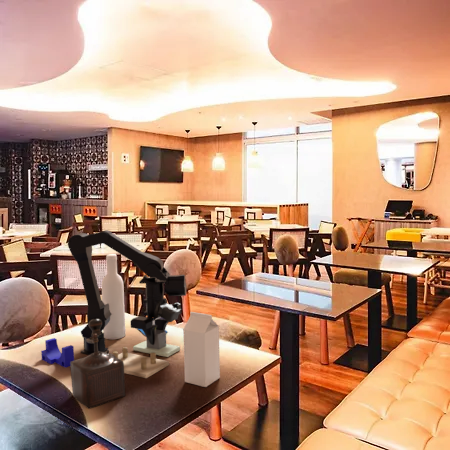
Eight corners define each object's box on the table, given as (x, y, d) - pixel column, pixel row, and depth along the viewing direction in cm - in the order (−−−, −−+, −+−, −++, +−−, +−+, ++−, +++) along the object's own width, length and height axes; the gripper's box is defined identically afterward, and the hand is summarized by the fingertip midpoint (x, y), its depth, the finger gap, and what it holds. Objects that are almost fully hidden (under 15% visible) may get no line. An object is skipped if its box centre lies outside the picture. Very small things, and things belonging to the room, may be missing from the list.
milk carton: (205, 388, 121) (204, 318, 120) (184, 382, 125) (182, 315, 123) (220, 378, 127) (218, 312, 126) (199, 373, 131) (197, 308, 129)
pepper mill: (128, 395, 118) (126, 327, 116) (88, 409, 111) (84, 337, 109) (101, 377, 129) (99, 315, 128) (63, 389, 122) (60, 323, 121)
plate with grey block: (167, 357, 144) (167, 337, 143) (133, 350, 150) (132, 331, 150) (180, 349, 150) (179, 331, 149) (146, 343, 156) (146, 325, 156)
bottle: (116, 340, 160) (112, 256, 158) (98, 338, 164) (95, 255, 161) (130, 334, 167) (127, 253, 165) (113, 331, 171) (110, 252, 168)
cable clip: (41, 360, 144) (40, 341, 143) (55, 356, 147) (54, 338, 147) (60, 369, 136) (59, 350, 135) (74, 365, 139) (73, 346, 139)
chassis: (99, 367, 137) (98, 354, 137) (124, 354, 146) (123, 342, 146) (146, 378, 128) (145, 364, 128) (169, 364, 138) (168, 351, 137)
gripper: (157, 305, 136) (158, 355, 138) (191, 292, 153) (192, 337, 154) (128, 301, 142) (130, 350, 143) (164, 289, 158) (165, 333, 159)
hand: (156, 342), depth 150 cm, fingers closed on plate with grey block, 4 cm apart
